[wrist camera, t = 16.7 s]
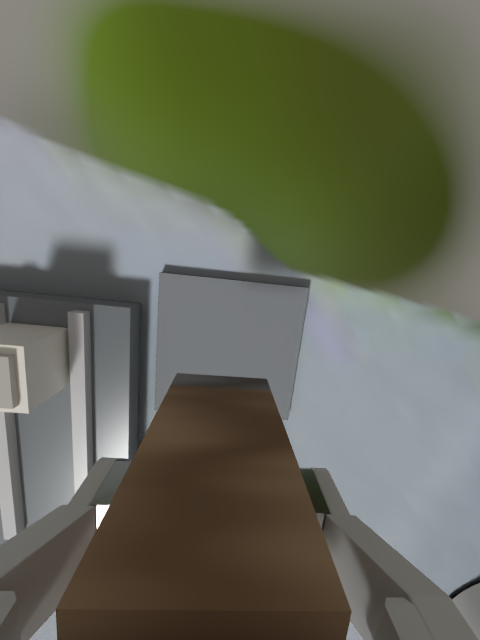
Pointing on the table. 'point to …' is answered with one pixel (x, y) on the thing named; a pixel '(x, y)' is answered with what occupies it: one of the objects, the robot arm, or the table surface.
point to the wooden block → (209, 531)
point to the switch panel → (70, 406)
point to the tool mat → (229, 332)
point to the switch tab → (32, 365)
